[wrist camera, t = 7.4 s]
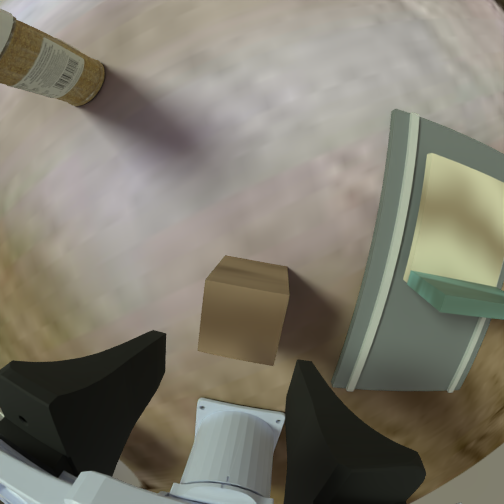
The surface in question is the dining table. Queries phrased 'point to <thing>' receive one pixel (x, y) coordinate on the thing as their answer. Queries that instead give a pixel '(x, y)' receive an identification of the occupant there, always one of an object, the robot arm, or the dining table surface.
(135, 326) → the dining table surface
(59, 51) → the sprinkles bottle
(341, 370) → the track board
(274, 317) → the walnut block
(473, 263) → the sliding tray
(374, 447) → the robot arm
